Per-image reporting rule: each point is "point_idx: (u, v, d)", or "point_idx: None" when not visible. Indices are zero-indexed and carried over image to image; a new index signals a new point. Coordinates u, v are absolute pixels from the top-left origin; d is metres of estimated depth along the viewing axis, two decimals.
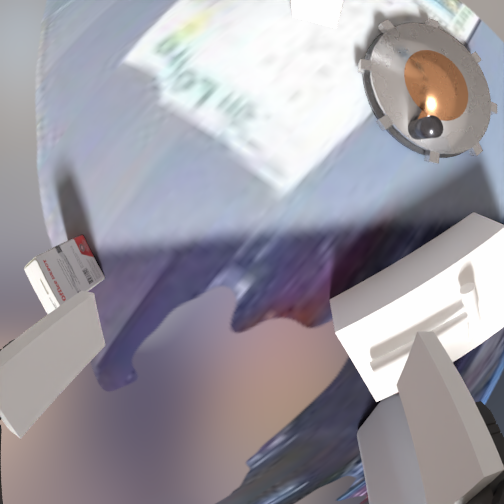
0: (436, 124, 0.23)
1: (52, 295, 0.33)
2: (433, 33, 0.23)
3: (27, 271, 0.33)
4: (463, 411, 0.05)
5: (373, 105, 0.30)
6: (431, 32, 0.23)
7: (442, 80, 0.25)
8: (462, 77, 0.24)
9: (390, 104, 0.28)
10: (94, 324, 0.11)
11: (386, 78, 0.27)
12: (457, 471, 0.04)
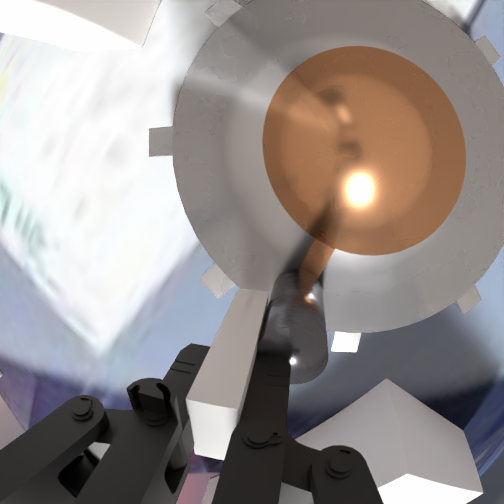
0: (301, 352, 0.09)
1: None
2: None
3: None
4: (234, 349, 0.08)
5: None
6: None
7: (388, 133, 0.11)
8: (451, 113, 0.10)
9: (222, 239, 0.14)
10: None
11: (210, 167, 0.13)
12: None
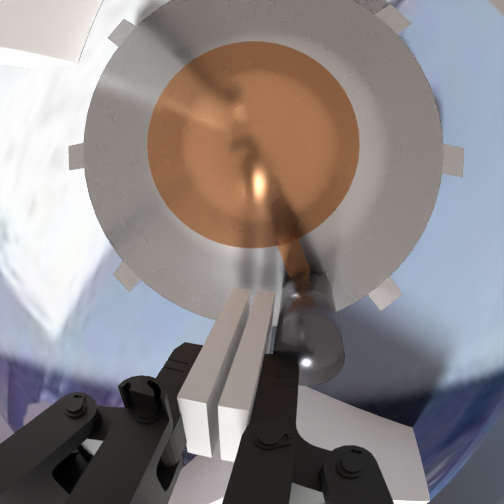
0: (310, 350, 0.09)
1: None
2: (137, 50, 0.11)
3: None
4: (243, 351, 0.08)
5: None
6: (131, 55, 0.11)
7: (245, 119, 0.12)
8: (273, 48, 0.10)
9: (221, 305, 0.15)
10: None
11: (167, 265, 0.14)
12: None
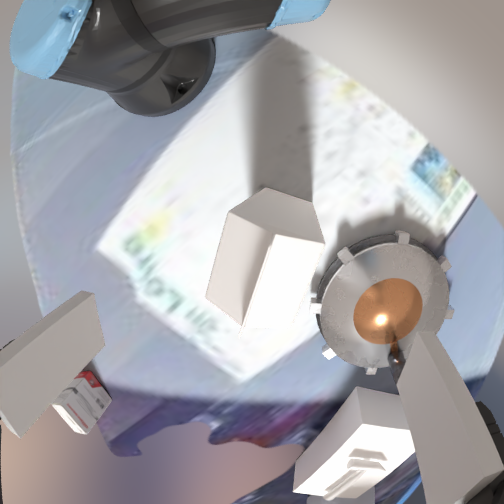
0: None
1: (78, 426, 0.41)
2: (354, 271, 0.33)
3: (55, 406, 0.41)
4: (463, 411, 0.05)
5: (320, 329, 0.38)
6: (351, 272, 0.33)
7: (390, 306, 0.33)
8: (404, 281, 0.32)
9: (366, 362, 0.36)
10: (94, 324, 0.11)
11: (350, 350, 0.36)
12: (457, 471, 0.04)
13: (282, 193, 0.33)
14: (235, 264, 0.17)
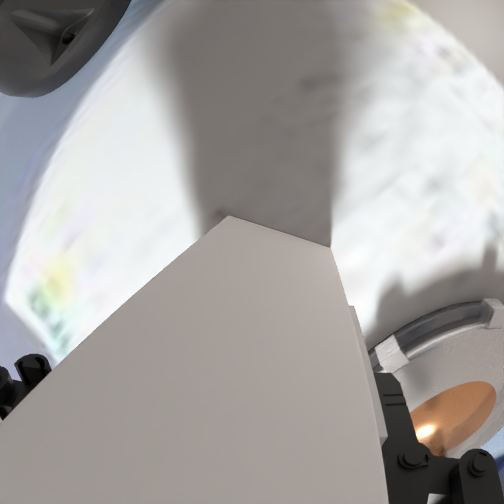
0: None
1: None
2: (406, 383, 0.14)
3: None
4: None
5: None
6: None
7: (449, 419, 0.15)
8: (480, 384, 0.14)
9: None
10: None
11: None
12: None
13: (263, 231, 0.15)
14: None
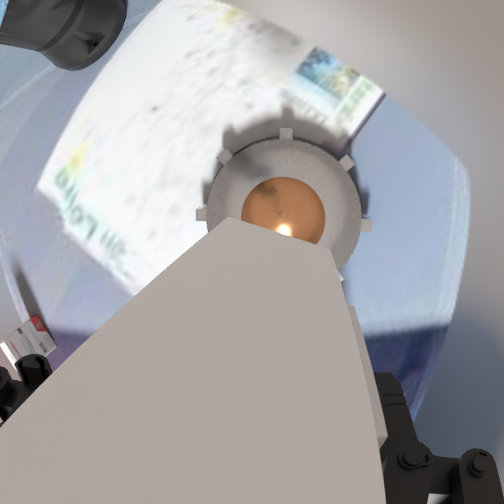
0: None
1: None
2: (234, 170, 0.32)
3: (1, 346, 0.40)
4: None
5: None
6: (231, 172, 0.32)
7: (282, 211, 0.33)
8: (294, 181, 0.31)
9: None
10: None
11: None
12: None
13: (263, 233, 0.15)
14: None
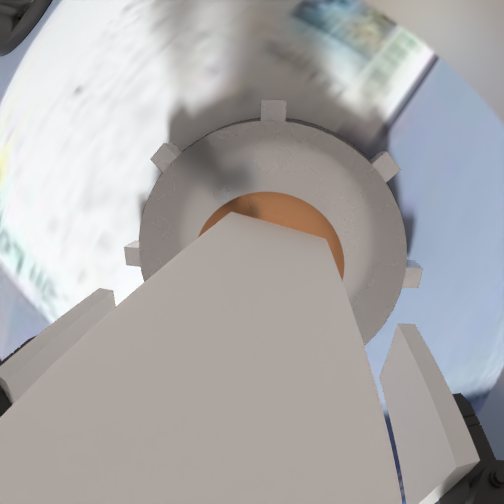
0: None
1: None
2: (180, 181, 0.17)
3: None
4: (438, 401, 0.06)
5: None
6: (175, 184, 0.18)
7: None
8: (289, 199, 0.17)
9: None
10: None
11: None
12: (432, 461, 0.05)
13: (264, 224, 0.16)
14: None
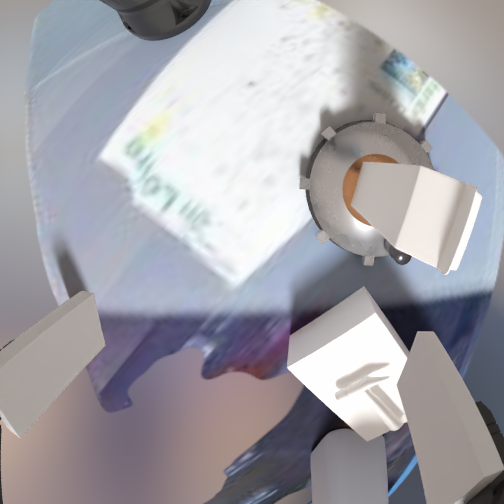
0: (403, 252, 0.32)
1: None
2: (338, 145, 0.34)
3: None
4: (463, 411, 0.05)
5: (312, 213, 0.39)
6: (335, 146, 0.34)
7: None
8: (387, 158, 0.33)
9: (361, 248, 0.37)
10: (94, 324, 0.11)
11: (343, 232, 0.37)
12: (457, 471, 0.04)
13: None
14: (430, 211, 0.16)
